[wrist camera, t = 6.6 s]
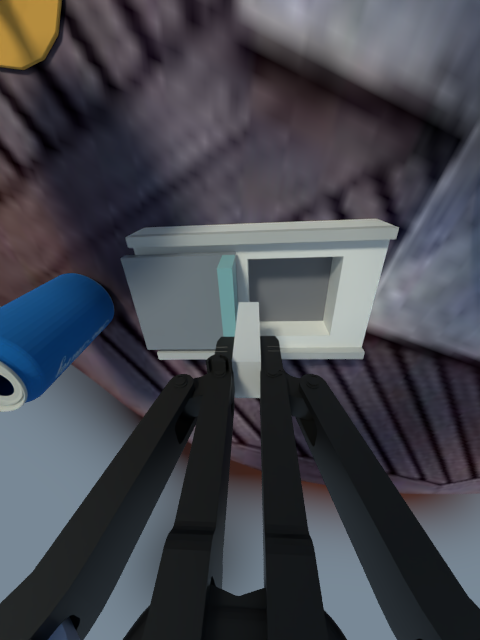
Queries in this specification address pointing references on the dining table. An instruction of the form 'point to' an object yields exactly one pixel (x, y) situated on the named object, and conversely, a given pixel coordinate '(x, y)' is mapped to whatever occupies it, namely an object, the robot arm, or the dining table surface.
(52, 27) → the cup
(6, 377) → the beverage can
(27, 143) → the dining table surface
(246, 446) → the dining table surface
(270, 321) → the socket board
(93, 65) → the dining table surface
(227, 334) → the shutter
